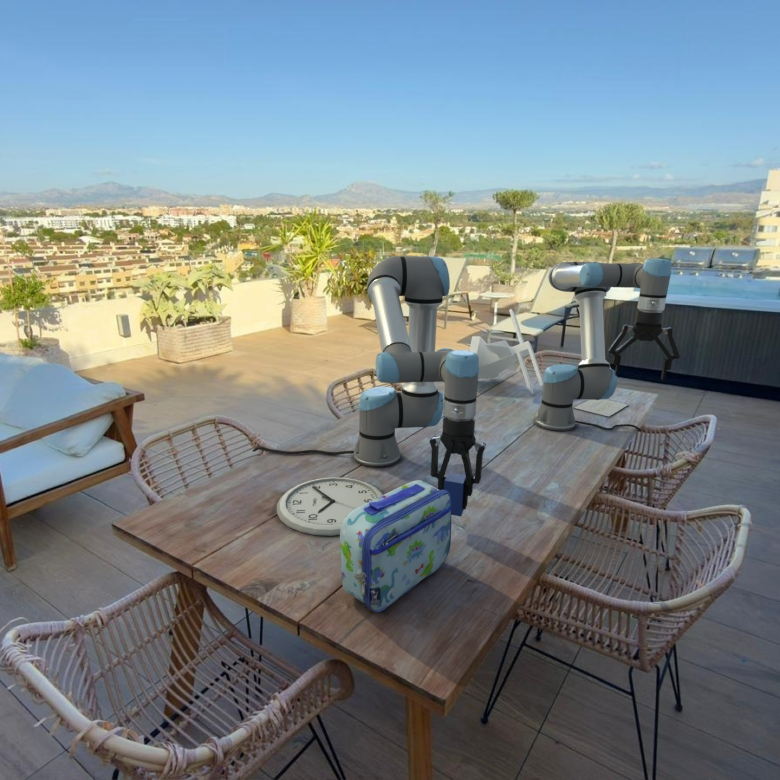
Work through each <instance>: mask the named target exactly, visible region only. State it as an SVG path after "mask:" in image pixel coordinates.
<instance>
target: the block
mask: <svg viewBox="0 0 780 780" xmlns="http://www.w3.org/2000/svg"><path fill="white" fill-rule="evenodd" d="M445 477H446V478H445V480H444V490H446V491H448V492H449V493H450V496H451V516H455V517H462V515H463V514H464V511H465V509H462V508H463V491H464V483H465V481H466V475H465V474H461V473H454V472H448V473H447V474H446V475H445Z"/></svg>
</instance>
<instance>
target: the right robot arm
mask: <svg viewBox="0 0 780 780" xmlns="http://www.w3.org/2000/svg"><path fill="white" fill-rule="evenodd" d="M672 266H673V262H672V261H671V260H670V259H667V258H666V259H665V258H647V259H645V261H644V263H642V262H630V263H625V262H624V263H621V262H620V263H613V262H612V263H611V262H610V263H609V262H607V263H606V262H601V261H599V262H598V261H563V262H560V263H557V264H555V265H554V266H553V267H552V268H551V269H550V270H549V273H548V276H547V277H548V282H549V284H550V286H551V287H552V288H553V289H555V290H557V291H560V292H565V293H574V298H575V300H576V301H578V304H579V305H578V306H579V328H580V329H579V330H580V331H579V332H580V333H579V334H580V353H581V355H580V356H581V361H580V362H579V364H577V366H576V365H574V364H566V363H561V364H554V365H550V366H549V367H547V368H546V369H545V371H544V375H543V378H542V379H543V390H542V394H541V402H540V405H539V407H538V410H537V411H536V413H535V416H534V424H535V425H536V426H537V427H539V428H542V429H544V430H549V431H556V432H567V431H572V430H574V429H575V428H576V424H578V425H579V424H580V425H585V426H591V427H596V428H599V429H602V430H604V431H613V430H614V429H615V428H621V427H631V428H634V429H636V430H637V431H642V429H641V428H640V427H638V426H637V425H635V424H631V423H624V424H623V423H621V424H620V423H619V424H615V425H613V426H612V427H605V426H602V425H599V424H596V423H591V422H586V421H579V420H576V418H575V417H576V416H575V413H574V407H573V405H574V400H586V401H588V400H600V399H606V400H609V399H610V398H612V396H613V395H614V393H615V391H616V389H617V385H618V377H619V373H620V365H621V359H622V356H621V354H622V353H623V352H624V351H625V350H627V349H628V348H629V347H630V346H631V345H632V344H634V343H635V342H637V341H641V342H645V341H647V342H653V341H655V343H656V344H657V345H658V347H659V348H660V350H661V351H662V352H663V354H664V355H665V357H666V358H663V363H662V369H661V375H660V379H661V381H666V376H667V371H670V370H671V369H672V363H673V361H674V360H679V359H680V358H681V356H680V353H679V350H678V347H677V345H676V343H675V339H674V336H673V329H672V327H670V326H668V327H663V326H662V325H663V320H664V312H663V311H665V307H666V302H667V296H668V291H669V285H670V281H671V276H672ZM611 288H625V289H626V288H628V289H629V288H630V289H631V288H632V289H640V290H639V294H638V301H637V307H636V308H637V309H638V310H637V311H636V313H635V320H634V324H633V325H628V324H626V323H624V324H623V326H622V330H621V331H620V333H619V334H618V336H617V337H616V339H615V340H614V341H613V342H612V344H611V345H610V347H609V348H608V353H609V354H612V355H613V357H612V358H613V360H612V365H613V366H615V369H613V368H611V364H610V362H608V361H607V360H606V343H605V323H604V301H603V300H604V298H606V296H607V293H608V292H609V291H610V290H611ZM630 331H632V332H633V335H631V336H630V337H629V338H628V339H626V341H625V342H624V343H622V344H621V342H622V340H623V339H624V338H625V336H626V335H627V333H630ZM662 333H663V334H664V335H665V336H666V338H667V341H668V343H669V346H670V349H671V351H672V354H671V353H670V352H669V350H668V349H667V348H666V346H665V345H664V344H663V342H662V341H661V339H660V338H659V336H660V335H661V334H662ZM620 344H621V345H620ZM619 345H620V346H619ZM618 346H619V347H618Z"/></svg>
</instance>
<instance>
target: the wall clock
mask: <svg viewBox="0 0 780 780" xmlns="http://www.w3.org/2000/svg"><path fill="white" fill-rule="evenodd" d="M384 494H385V493H383V492H382V491H381V490H380V489H379V488H377V487H376V486H374V485H372V484H371V483H369V482H365V481H362V480H359V479H355V478H349V477H338V476H337V477H335V476H333V477H332V476H331V477H322V478H317V479H312V480H307V481H305V482H302V483H299V484H297V485H295V486H293V487H292V488H290V489H288V490H287V491H286V492H285V493H284V494H283V495H281V496H280V498H279V499H278V502H277V503H276V515H277V517H278V518H279V520H280V521H281V522H282V523H283V524H285V525H286V526H287V527H288V528H290V529H293V530H295V531H297V532H299V533H303V534H308V535H312V536H327V537H328V536H329V537H331V536H332V537H333V536H340V530H341V526H342V523H343V521H344V519H345V518H346V516H347V515H348V514H349V513H350V512H351V511H353V510H354V509H356V508H358V507H360V506H362V505H364V504H366V503H368V502H370V501H372V500H374V499H376V498H378V497H380V496H382V495H384Z"/></svg>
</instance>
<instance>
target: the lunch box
mask: <svg viewBox="0 0 780 780" xmlns="http://www.w3.org/2000/svg"><path fill="white" fill-rule="evenodd" d="M383 494H384V495H382V496H380V497H378V498H376V499H374V500H372V501H370V502H368V503H366V504H364V505H362V506H360V507H358V508H356V509H354V510H353V511H351V512H350V513H349V514H348V515H347V516H346V518H345V519H344V521H343V523H342V526H341V530H340V535H339V551H340V574H341V576H340V577H341V585H342V588H343V589H342V590H343V591H344V593H346V594H348V595H350V596H352V597H353V598H355V599H357V600H358V601H359V602H361V603H362V604H364V605H365V606H366V608H367V609H369V610H370V611H371V612H374V613H381V612H384V611H385V610H386V609H387V608H389V607H390V606H391V605H392V604H393V603H395V602H396V601H397V600H399V599H400V598H401V597H402V596H404V595H405V594H407V593H408V592H410V591H411V590H412V589H413V588H415V587H416V586H417V585H418V584H419V583H420V582H421V581H423V580H425V579H426V578H427V577H429V576H430V575H432V574H434V573H435V572H436V571H438V570H439V569H440V568H441V567H442V566H443V565H444V563H445V562H446V560H447V558H448V556H449V553H450V550H451V549H450V548H451V545H452V543H451V542H452V515H451V496H450V493H449V492H448V491H446V490H439V489H438V487H435V486H434V485H431V484H429V483H427V482H426V481H424V480H421V479H416V480H413V481H410V482H408V483H405V484H403V485H401V486H399V487H397V488H394V489H393V490H390V491H388V492H387V493H383Z"/></svg>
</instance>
